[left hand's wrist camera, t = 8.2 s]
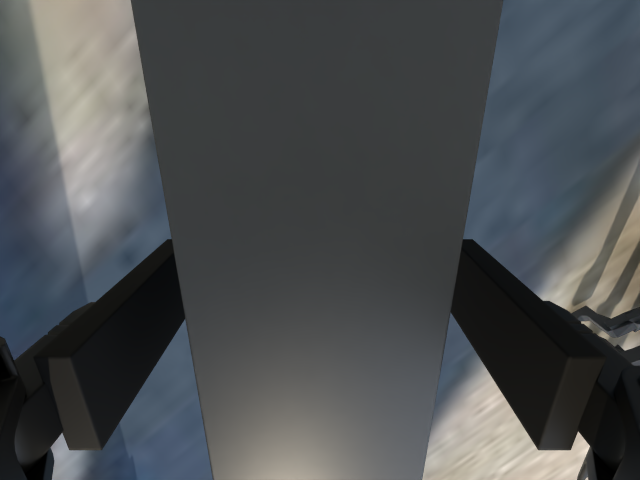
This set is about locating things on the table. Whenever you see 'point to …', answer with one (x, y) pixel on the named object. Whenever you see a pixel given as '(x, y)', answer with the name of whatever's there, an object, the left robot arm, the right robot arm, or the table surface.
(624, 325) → the toy
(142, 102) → the table surface
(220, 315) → the bar
